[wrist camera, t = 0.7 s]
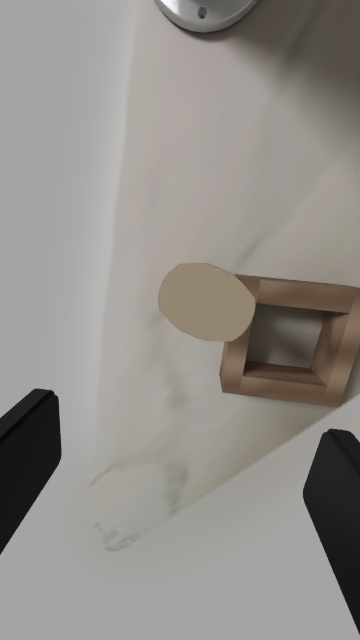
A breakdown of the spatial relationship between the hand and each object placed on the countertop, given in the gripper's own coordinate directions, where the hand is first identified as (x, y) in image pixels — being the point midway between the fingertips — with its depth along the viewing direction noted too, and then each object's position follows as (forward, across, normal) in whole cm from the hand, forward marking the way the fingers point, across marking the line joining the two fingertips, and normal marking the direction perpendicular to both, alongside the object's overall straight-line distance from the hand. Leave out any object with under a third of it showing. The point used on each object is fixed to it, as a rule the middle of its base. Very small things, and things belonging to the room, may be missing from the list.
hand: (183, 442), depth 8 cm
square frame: (+24, -12, +3) cm, 26 cm away
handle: (+24, -1, -3) cm, 24 cm away
